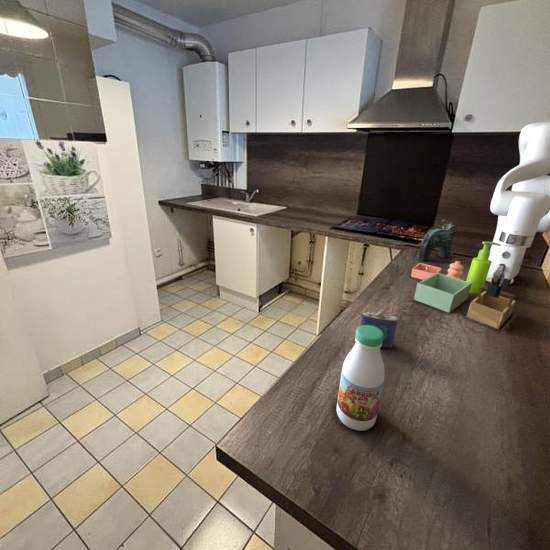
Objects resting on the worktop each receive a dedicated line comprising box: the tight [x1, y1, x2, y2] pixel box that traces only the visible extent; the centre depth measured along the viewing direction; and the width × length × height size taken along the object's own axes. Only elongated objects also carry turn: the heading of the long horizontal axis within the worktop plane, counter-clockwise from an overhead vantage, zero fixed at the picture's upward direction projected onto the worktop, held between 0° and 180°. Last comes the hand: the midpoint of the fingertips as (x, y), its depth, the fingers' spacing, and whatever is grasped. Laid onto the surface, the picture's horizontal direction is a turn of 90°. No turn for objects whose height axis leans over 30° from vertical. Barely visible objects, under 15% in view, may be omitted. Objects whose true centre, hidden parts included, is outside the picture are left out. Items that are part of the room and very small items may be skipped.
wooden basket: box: [465, 284, 517, 330], centre depth 93 cm, size 13×9×10 cm
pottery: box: [410, 260, 464, 281], centre depth 120 cm, size 18×10×10 cm, turn 49°
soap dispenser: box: [465, 241, 500, 295], centre depth 109 cm, size 6×7×20 cm
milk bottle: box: [336, 325, 386, 432], centre depth 54 cm, size 8×8×20 cm
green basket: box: [413, 273, 472, 314], centre depth 104 cm, size 16×12×7 cm
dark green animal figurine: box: [418, 218, 458, 262], centre depth 144 cm, size 20×6×20 cm, turn 114°
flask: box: [359, 309, 399, 349], centre depth 78 cm, size 9×3×11 cm, turn 74°
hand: (496, 292), depth 91 cm, fingers open, 9 cm apart
